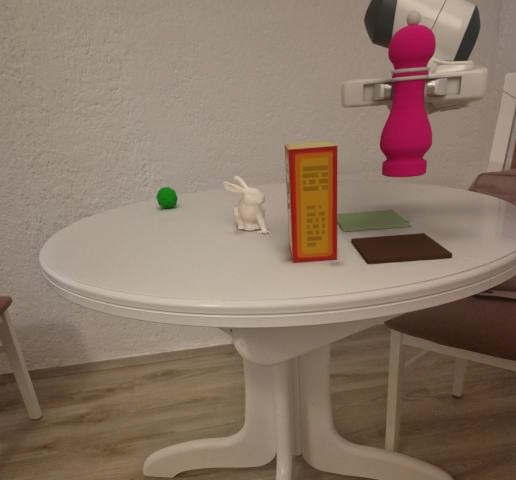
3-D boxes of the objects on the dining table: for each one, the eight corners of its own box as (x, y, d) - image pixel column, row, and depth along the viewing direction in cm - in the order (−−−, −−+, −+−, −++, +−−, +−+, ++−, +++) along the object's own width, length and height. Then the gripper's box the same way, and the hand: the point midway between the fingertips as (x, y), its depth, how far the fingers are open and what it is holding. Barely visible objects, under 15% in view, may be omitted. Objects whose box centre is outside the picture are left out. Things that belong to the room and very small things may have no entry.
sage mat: (392, 212, 96) (392, 209, 96) (410, 226, 85) (410, 223, 85) (332, 217, 96) (332, 214, 96) (343, 231, 85) (343, 228, 85)
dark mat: (423, 236, 79) (424, 232, 79) (452, 257, 68) (452, 253, 68) (351, 242, 79) (351, 238, 79) (367, 264, 68) (368, 260, 68)
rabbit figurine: (270, 234, 87) (267, 178, 83) (228, 237, 87) (223, 182, 83) (263, 220, 98) (260, 170, 94) (227, 223, 98) (222, 173, 93)
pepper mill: (435, 170, 71) (451, 8, 62) (420, 178, 66) (434, 3, 57) (389, 169, 75) (396, 17, 66) (370, 177, 70) (376, 12, 61)
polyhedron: (171, 210, 114) (167, 189, 111) (154, 210, 116) (150, 189, 114) (182, 206, 118) (179, 185, 115) (166, 205, 120) (163, 185, 117)
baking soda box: (289, 245, 80) (284, 141, 73) (328, 242, 80) (327, 138, 72) (293, 262, 71) (288, 146, 64) (337, 259, 71) (337, 143, 64)
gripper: (347, 72, 78) (332, 70, 67) (484, 59, 72) (494, 55, 60) (346, 114, 81) (332, 120, 70) (478, 106, 75) (487, 110, 63)
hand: (409, 89), depth 65 cm, fingers closed on pepper mill, 5 cm apart
